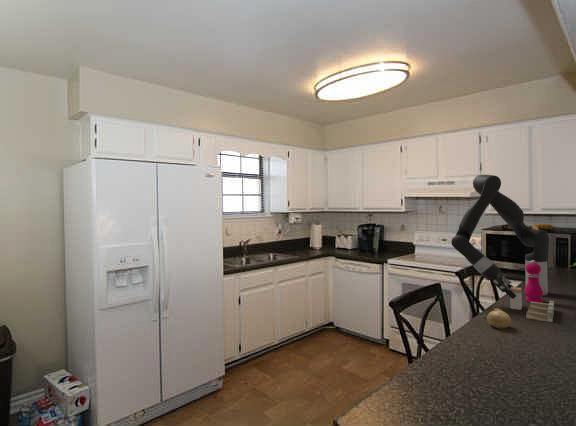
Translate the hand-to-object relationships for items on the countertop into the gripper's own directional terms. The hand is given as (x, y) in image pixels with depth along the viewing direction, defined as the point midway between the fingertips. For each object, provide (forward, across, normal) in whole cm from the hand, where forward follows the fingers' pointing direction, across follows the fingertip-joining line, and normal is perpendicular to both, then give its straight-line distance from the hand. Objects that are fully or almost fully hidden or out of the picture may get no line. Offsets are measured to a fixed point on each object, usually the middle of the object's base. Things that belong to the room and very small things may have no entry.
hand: (515, 295), depth 155 cm
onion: (+3, -30, +6) cm, 31 cm away
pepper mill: (+8, +16, 0) cm, 18 cm away
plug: (+4, 0, +4) cm, 6 cm away
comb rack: (+10, -4, -2) cm, 11 cm away
